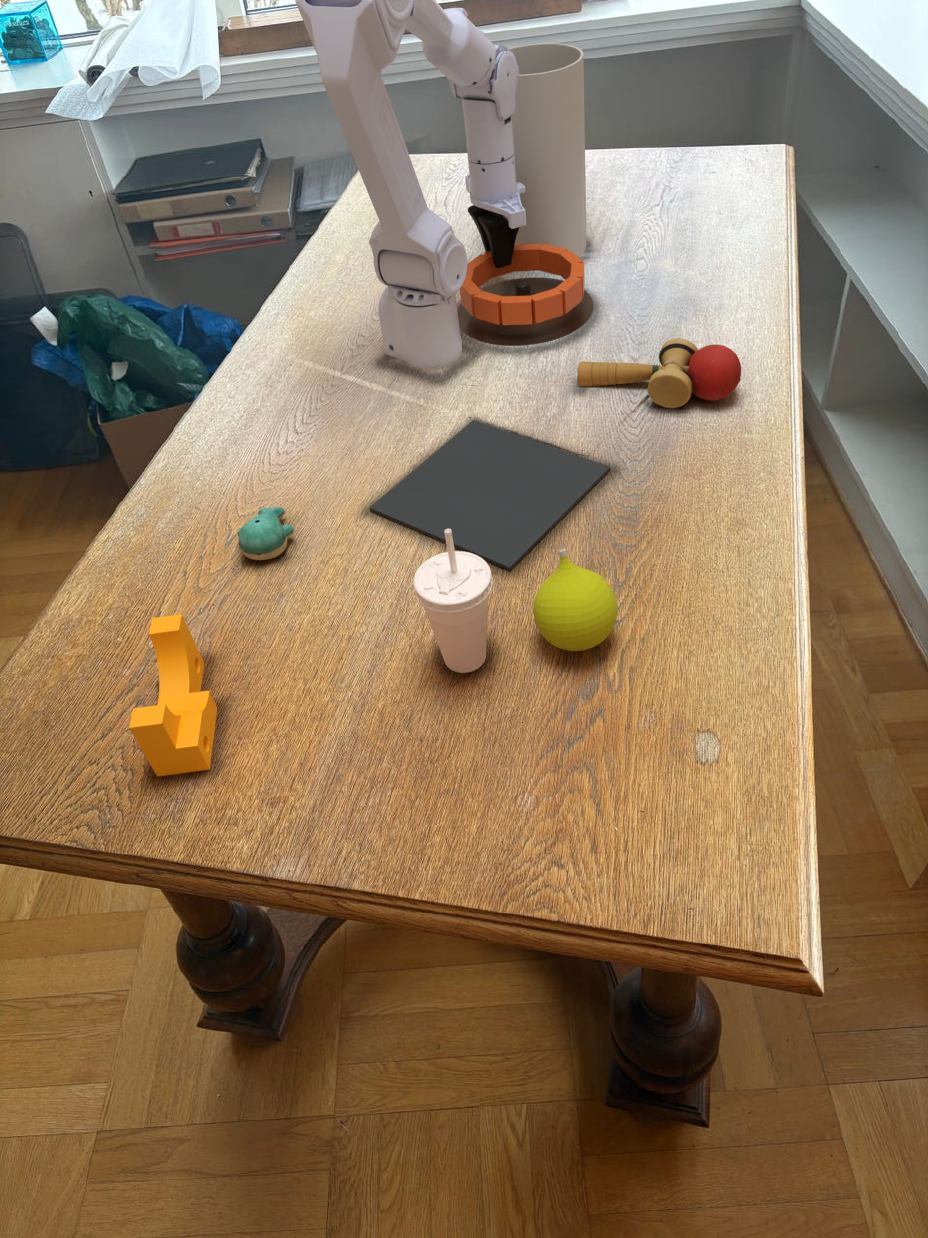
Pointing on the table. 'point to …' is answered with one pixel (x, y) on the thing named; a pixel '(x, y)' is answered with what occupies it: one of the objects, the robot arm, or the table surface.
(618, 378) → the kendama
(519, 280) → the round disc
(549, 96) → the cylinder vase
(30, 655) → the table surface
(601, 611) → the ornament
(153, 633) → the pipe clamp
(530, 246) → the ring
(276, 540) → the whale figurine
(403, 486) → the mat
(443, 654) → the smoothie
